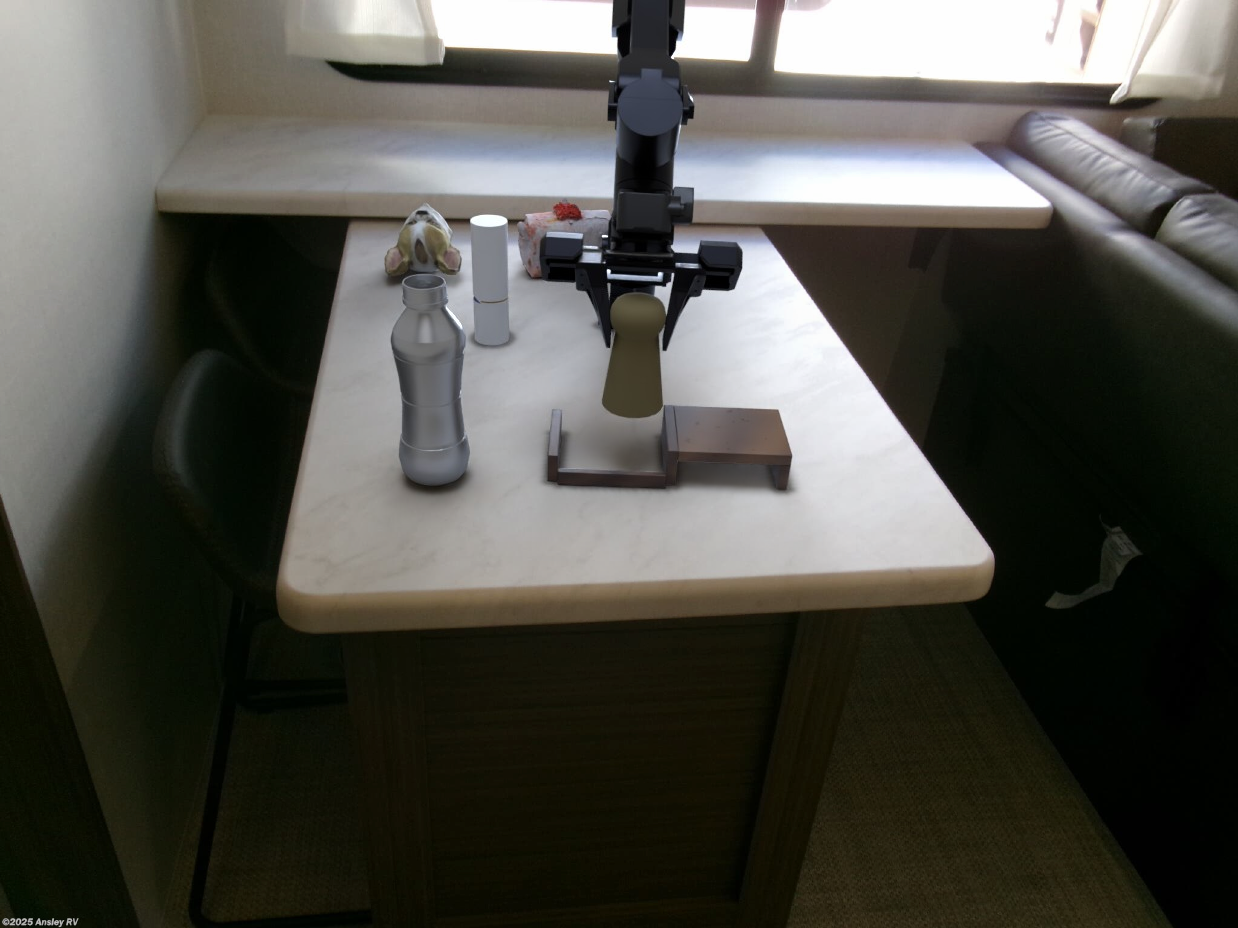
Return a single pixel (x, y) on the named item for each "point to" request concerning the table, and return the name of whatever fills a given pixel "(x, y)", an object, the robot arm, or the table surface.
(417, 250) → the ceramic sculpture
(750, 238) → the table surface
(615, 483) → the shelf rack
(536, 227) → the food item
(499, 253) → the tube
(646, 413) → the olive green pawn
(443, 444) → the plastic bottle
